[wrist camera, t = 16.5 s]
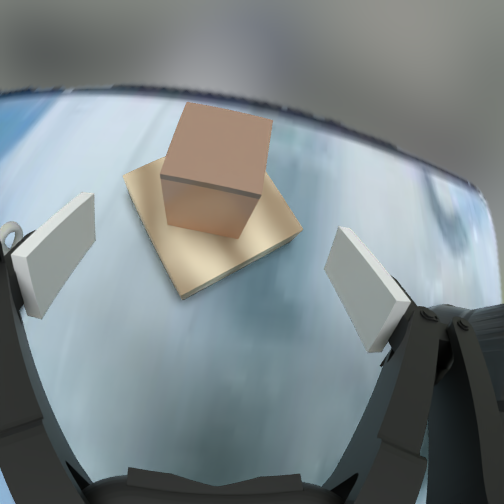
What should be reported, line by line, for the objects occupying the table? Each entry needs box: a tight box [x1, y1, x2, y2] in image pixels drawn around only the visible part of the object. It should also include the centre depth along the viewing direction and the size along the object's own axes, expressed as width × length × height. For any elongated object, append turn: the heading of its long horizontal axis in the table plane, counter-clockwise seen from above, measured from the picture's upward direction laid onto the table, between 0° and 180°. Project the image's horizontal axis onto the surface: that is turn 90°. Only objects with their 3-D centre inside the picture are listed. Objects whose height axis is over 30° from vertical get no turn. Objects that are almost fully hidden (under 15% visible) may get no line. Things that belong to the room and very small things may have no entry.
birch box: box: [123, 156, 303, 300], centre depth 36 cm, size 16×16×5 cm
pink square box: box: [160, 102, 273, 239], centre depth 28 cm, size 8×8×11 cm
